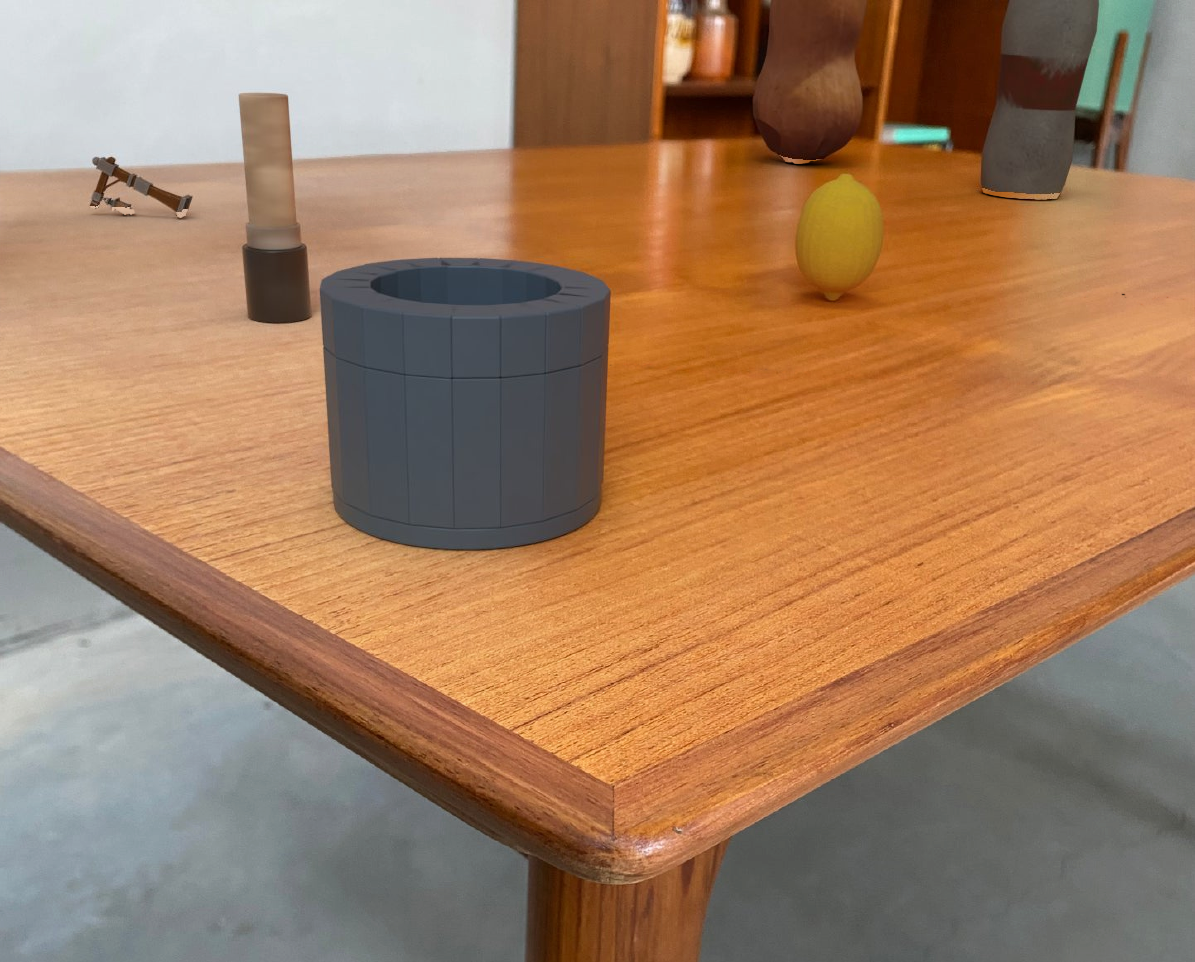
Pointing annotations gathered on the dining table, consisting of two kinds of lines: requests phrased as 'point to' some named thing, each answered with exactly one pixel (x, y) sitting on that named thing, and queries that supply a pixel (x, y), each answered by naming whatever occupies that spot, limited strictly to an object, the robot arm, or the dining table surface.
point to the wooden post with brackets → (133, 181)
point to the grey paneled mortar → (465, 399)
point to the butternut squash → (810, 78)
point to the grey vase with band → (1038, 94)
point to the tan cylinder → (272, 214)
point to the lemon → (839, 236)
